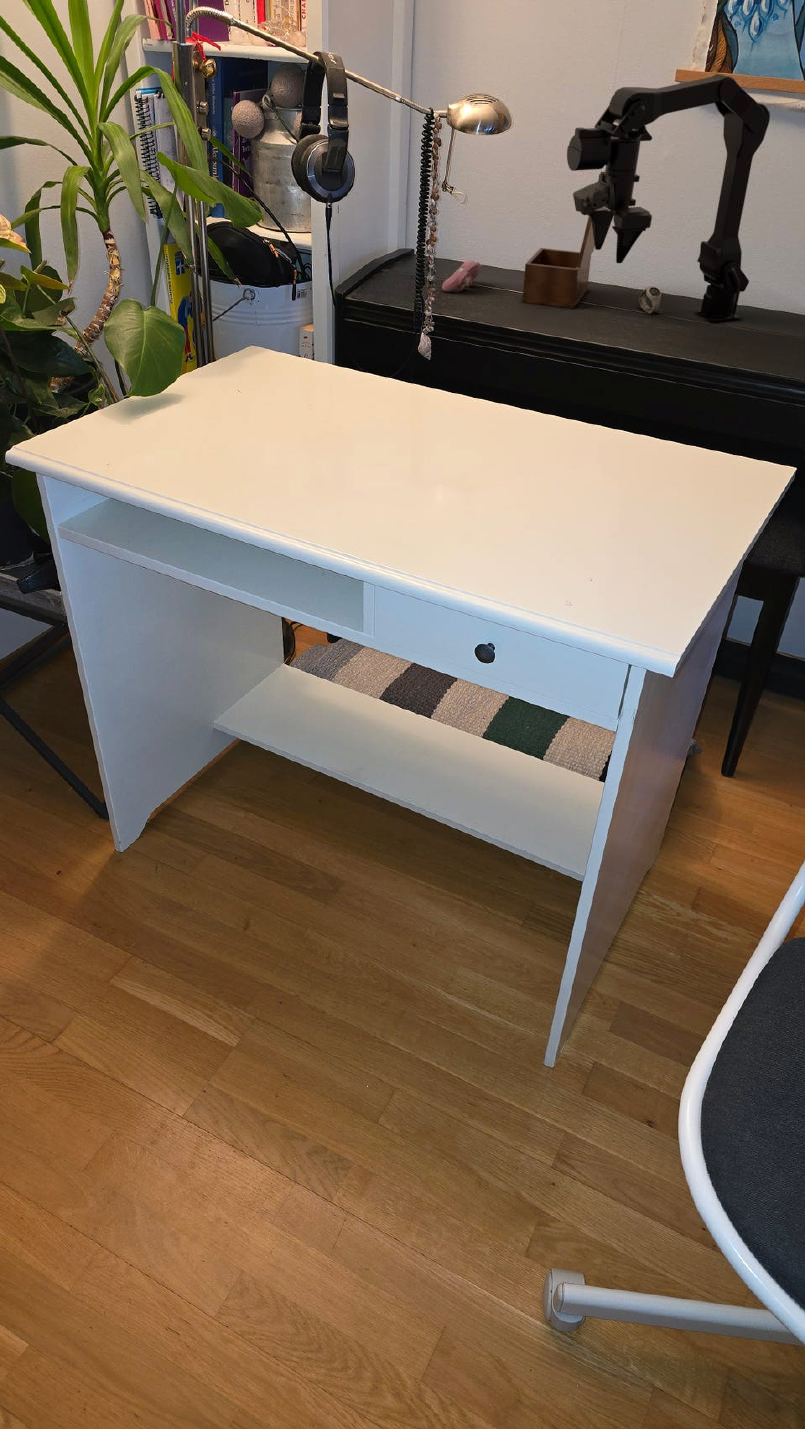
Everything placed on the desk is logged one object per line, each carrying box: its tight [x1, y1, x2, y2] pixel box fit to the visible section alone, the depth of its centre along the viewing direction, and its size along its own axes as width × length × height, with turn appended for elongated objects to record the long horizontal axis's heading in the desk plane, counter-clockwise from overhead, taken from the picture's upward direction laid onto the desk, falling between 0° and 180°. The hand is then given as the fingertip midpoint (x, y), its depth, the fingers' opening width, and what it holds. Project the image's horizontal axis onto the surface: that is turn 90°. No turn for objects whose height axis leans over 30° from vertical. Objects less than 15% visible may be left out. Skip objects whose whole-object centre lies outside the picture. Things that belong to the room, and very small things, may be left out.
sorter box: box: [522, 247, 592, 309], centre depth 218 cm, size 12×13×8 cm
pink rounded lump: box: [441, 259, 483, 293], centre depth 223 cm, size 10×5×7 cm, turn 148°
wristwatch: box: [638, 285, 662, 314], centre depth 212 cm, size 4×6×5 cm, turn 20°
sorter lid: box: [577, 216, 595, 268], centre depth 209 cm, size 12×13×1 cm
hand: (608, 256), depth 195 cm, fingers open, 9 cm apart
